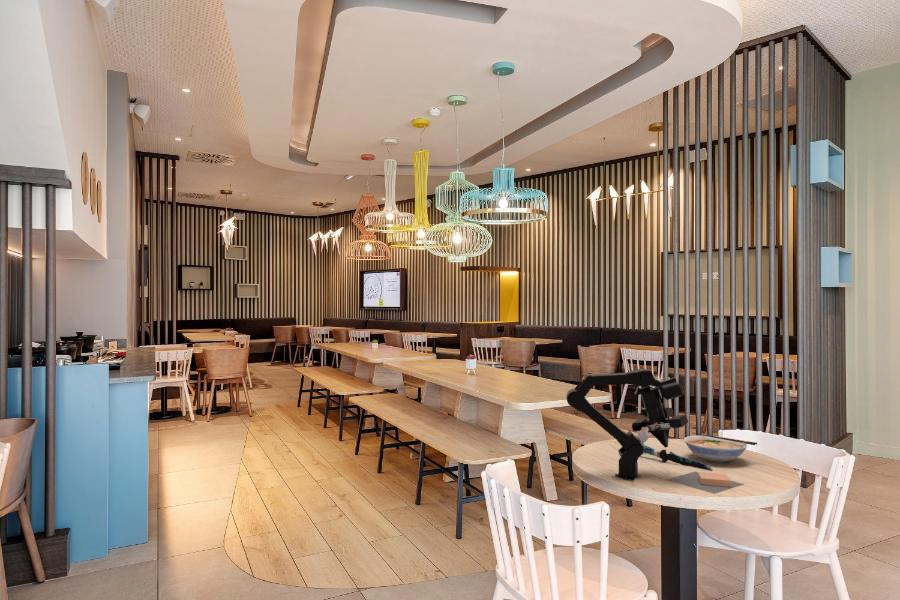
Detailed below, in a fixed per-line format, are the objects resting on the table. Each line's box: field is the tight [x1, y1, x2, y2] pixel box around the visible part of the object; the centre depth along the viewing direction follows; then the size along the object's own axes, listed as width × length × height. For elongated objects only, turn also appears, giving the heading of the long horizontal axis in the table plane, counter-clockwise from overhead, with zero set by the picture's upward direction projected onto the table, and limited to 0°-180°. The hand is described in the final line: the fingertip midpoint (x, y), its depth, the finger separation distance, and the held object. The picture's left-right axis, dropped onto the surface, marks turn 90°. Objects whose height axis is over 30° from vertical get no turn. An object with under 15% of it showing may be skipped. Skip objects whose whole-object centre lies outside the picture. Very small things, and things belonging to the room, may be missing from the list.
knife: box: [642, 443, 714, 472], centre depth 218 cm, size 31×3×4 cm, turn 38°
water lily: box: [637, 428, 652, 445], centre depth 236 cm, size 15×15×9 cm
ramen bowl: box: [683, 432, 758, 463], centre depth 224 cm, size 25×23×8 cm
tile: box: [697, 471, 732, 487], centre depth 192 cm, size 2×8×9 cm
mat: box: [664, 471, 745, 494], centre depth 193 cm, size 18×18×1 cm
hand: (666, 447), depth 198 cm, fingers closed
